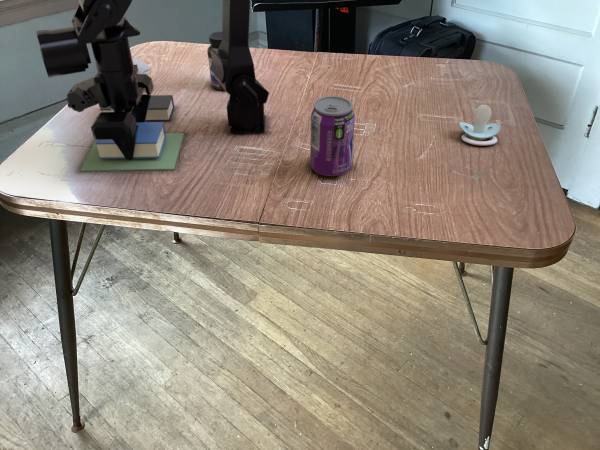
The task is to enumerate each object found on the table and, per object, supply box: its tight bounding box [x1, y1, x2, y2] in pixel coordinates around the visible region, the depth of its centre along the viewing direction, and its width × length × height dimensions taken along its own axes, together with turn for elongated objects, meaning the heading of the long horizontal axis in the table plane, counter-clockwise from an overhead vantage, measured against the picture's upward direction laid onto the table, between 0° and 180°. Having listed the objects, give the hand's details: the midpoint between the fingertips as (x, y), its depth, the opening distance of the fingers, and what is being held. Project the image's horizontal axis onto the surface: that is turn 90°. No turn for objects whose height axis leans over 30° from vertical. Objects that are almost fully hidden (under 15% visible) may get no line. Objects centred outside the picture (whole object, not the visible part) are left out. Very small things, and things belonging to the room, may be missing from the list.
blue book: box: [94, 121, 166, 159], centre depth 96 cm, size 10×7×3 cm, turn 91°
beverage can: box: [309, 95, 356, 177], centre depth 90 cm, size 7×7×12 cm
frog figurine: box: [132, 56, 151, 76], centre depth 116 cm, size 6×7×7 cm
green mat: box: [80, 132, 185, 172], centre depth 98 cm, size 16×12×1 cm
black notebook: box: [99, 94, 175, 122], centre depth 108 cm, size 13×6×3 cm, turn 91°
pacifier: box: [459, 104, 501, 146], centre depth 99 cm, size 7×6×6 cm
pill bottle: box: [206, 30, 226, 91], centre depth 115 cm, size 6×6×11 cm
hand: (134, 148), depth 97 cm, fingers closed on blue book, 7 cm apart
